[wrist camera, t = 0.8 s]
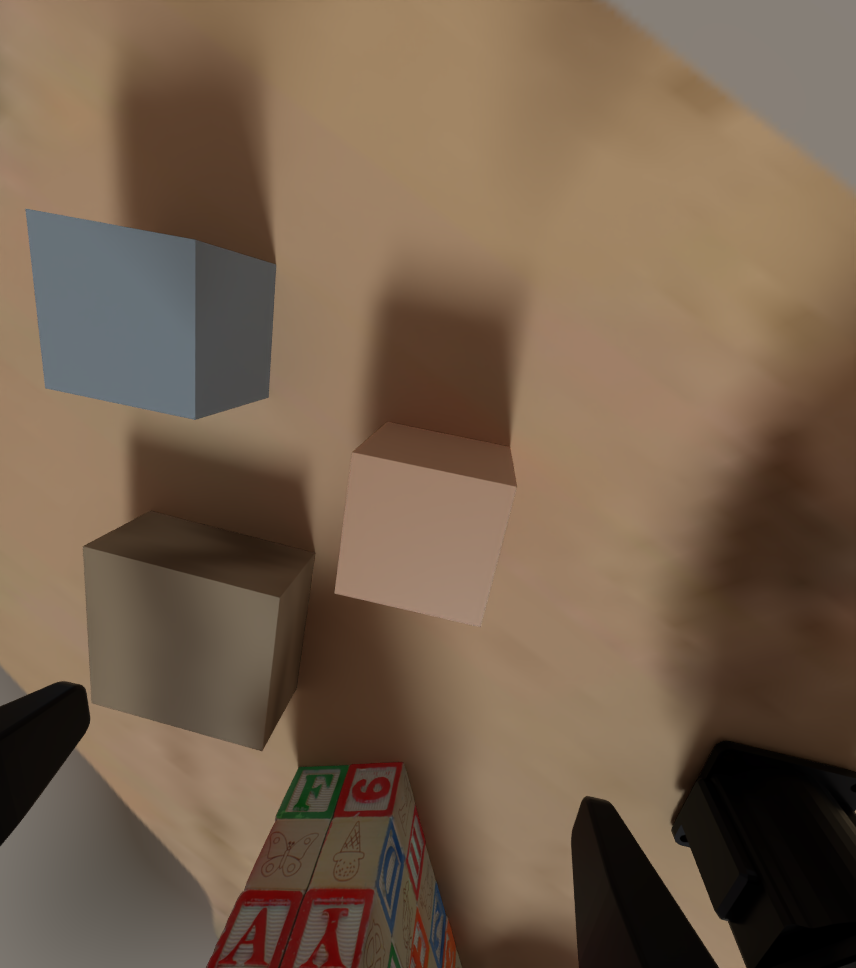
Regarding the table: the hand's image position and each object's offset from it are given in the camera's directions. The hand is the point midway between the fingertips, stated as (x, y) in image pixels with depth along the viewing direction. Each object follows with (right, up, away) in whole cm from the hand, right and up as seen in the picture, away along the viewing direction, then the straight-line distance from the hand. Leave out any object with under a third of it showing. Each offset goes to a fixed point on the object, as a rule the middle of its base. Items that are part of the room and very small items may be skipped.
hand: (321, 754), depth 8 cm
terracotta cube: (+2, +4, +11) cm, 12 cm away
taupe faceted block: (-8, -1, +15) cm, 17 cm away
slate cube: (-7, +11, +10) cm, 16 cm away
